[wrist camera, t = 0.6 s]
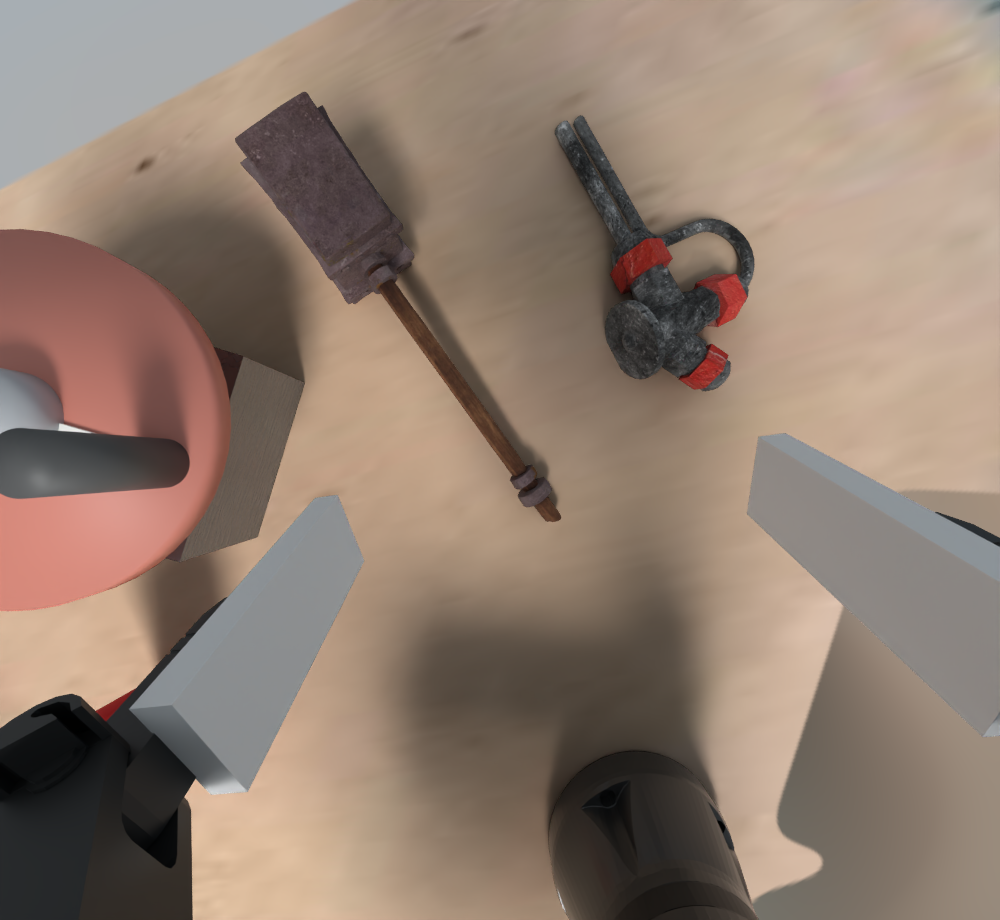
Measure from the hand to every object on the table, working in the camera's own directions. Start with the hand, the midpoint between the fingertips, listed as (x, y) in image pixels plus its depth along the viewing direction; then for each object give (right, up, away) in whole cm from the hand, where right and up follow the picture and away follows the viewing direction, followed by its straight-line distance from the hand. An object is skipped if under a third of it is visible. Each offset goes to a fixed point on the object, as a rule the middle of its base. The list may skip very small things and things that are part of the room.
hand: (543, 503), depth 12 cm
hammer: (-6, +10, +21) cm, 24 cm away
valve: (+12, +20, +22) cm, 32 cm away
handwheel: (-27, +3, +12) cm, 30 cm away
